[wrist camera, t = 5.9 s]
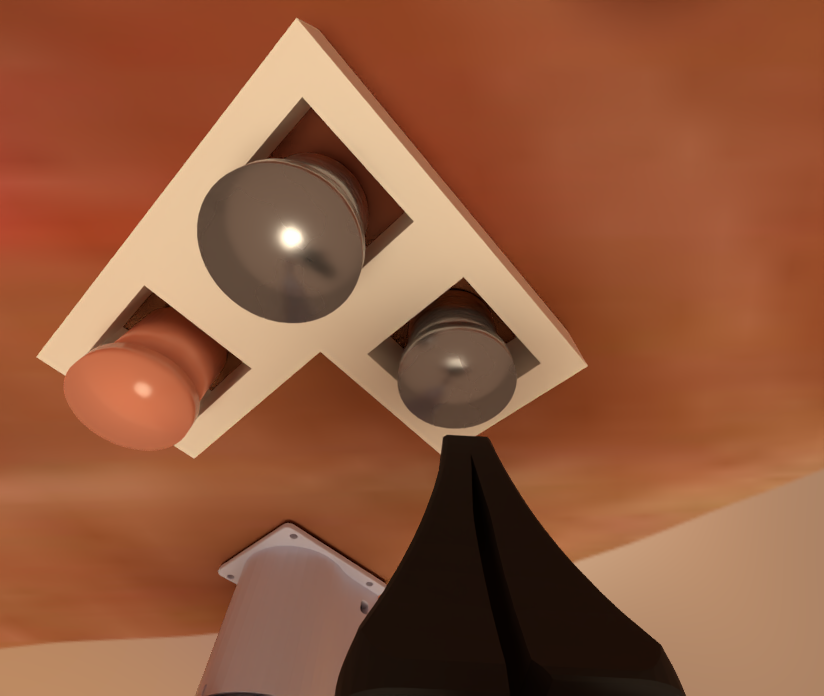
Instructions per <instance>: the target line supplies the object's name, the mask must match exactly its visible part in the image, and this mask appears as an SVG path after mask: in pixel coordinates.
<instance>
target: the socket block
mask: <svg viewBox="0 0 824 696" xmlns="http://www.w3.org/2000/svg"><path fill="white" fill-rule="evenodd" d="M311 107H312V108H313V110H314V111H315V112H316V113H317V114H318V115H319V116H320V117H321V118H322V120H323V121H324V122H325V123H326V124H327V125H328V126H329V127H330V129H331V130H332V131H333V132H334V133H335V134H336V135H337V136H338V137H339V139H340V140H341V141H342V142H343V143H344V144H345V145H346V146H347V147H348V149H349V150H350V151H351V152H352V153H353V154H354V155H355V156H356V158H357V159H358V160H359V161H360V162H361V163H362V164H363V165H364V166H365V168H366V169H367V170H368V171H369V172H370V173H371V174H372V175H373V176H374V178H375V179H376V180H377V181H378V182H379V183H380V184H381V185H382V187H383V188H384V189H385V190H386V191H387V192H388V193H389V194H390V195H391V197H392V198H393V199H394V200H395V201H396V202H397V203H398V204H399V206H400V207H401V208H402V209H403V210H404V211H405V212H404V213H403V214H402V215H401V216H400V217H399V218H398V219H397V220H396V221H395V222H394V223H393V224H391V225H390V226H389V227H388V228H387V229H386V230H385V231H384V232H383V233H382V234H381V235H380V236H378V237H377V238H376V239H375V240H374V241H373V242H372V243H371V244H370V245H369V246H368V247H367V248H365V258H364V263H363V267H362V270H361V273H360V276H359V278H358V281H357V284H356V286H355V288H354V290H353V292H352V293H351V295H350V296H349V297H348V299H347V300H346V301H345V302H344V303H343V304H342V305H341V306H340V307H339V308H337V309H336V310H335V311H334V312H332V313H330V314H328V315H327V316H325V317H322V318H320V319H317V320H314V321H310V322H304V323H282V322H276V321H271V320H267V319H265V318H262V317H259V316H257V315H255V314H252V313H250V312H248V311H247V310H245V309H243V308H242V307H240V306H239V305H237V304H236V303H235V302H233V301H232V300H231V299H230V298H229V297H228V296H227V295H226V294H224V292H223V291H222V290H221V289H220V288H219V287H218V286H217V284H216V283H215V282H214V280H213V279H212V277H211V276H210V274H209V272H208V270H207V269H206V267H205V264H204V262H203V259H202V257H201V253H200V250H199V246H198V239H197V222H198V215H199V211H200V208H201V205H202V203H203V201H204V198H205V196H206V195H207V193H208V192H209V190H210V189H211V187H212V186H213V185H214V184H215V183H216V182H217V181H218V180H219V179H221V178H222V177H223V176H225V175H226V174H227V173H229V172H231V171H233V170H235V169H237V168H239V167H242V166H244V165H246V164H248V163H251V162H254V161H258V160H263V159H267V158H268V157H269V156H270V154H271V153H272V152H273V151H274V150H275V149H276V147H277V146H278V145H279V144H280V143H281V142H282V140H283V139H284V138H285V137H286V136H287V135H288V133H289V132H290V131H291V130H292V129H293V128H294V126H295V125H296V124H297V123H298V122H299V121H300V119H301V118H302V117H303V116H304V115H305V114H306V112H307V111H308V110H309V109H310V108H311ZM463 277H464V278H465V279H466V280H467V281H468V283H469V284H470V285H471V286H472V287H473V288H474V289H475V290H476V291H477V293H478V294H479V295H480V296H481V297H482V298H483V299H484V300H485V301H486V303H487V304H488V305H489V306H490V307H491V308H492V309H493V310H494V312H495V313H496V314H497V315H498V316H499V317H500V318H501V319H502V320H503V322H504V323H505V324H506V325H507V326H508V327H509V328H510V329H511V330H512V332H513V333H514V334H515V335H516V336H517V337H515V338H514V339H513V340H511V341H510V342H508V343H507V344H506V345H507V347H508V348H509V350H510V353H511V356H512V359H513V362H514V365H515V368H516V373H517V383H516V388H515V392H514V394H513V397H512V399H511V400H510V402H509V403H508V405H507V406H506V407H505V408H504V409H503V410H502V411H501V412H500V413H499V414H498V415H496V416H495V417H494V418H492V419H490V420H488V421H487V422H484V423H482V424H480V425H476V426H473V427H468V428H460V429H450V428H442V427H437V426H434V425H431V424H429V423H426V422H424V421H422V420H421V419H419V418H417V417H416V416H415V415H414V414H412V413H411V412H410V411H409V410H408V408H407V407H406V406H405V404H404V403H403V401H402V399H401V397H400V394H399V391H398V382H397V380H398V369H399V362H400V358H401V355H402V353H403V351H404V349H403V348H402V347H401V346H400V345H399V344H398V343H397V342H396V341H395V340H394V339H392V338H391V337H390V335H392V334H393V333H394V332H395V331H397V330H398V329H399V328H400V327H402V326H403V325H404V324H405V323H407V322H408V321H409V320H410V319H412V318H413V317H414V316H415V315H417V314H418V313H419V312H420V311H422V310H423V309H424V308H425V307H427V306H428V305H429V304H430V303H432V302H433V301H434V300H435V299H437V298H438V297H439V296H440V295H442V294H443V293H444V292H445V291H447V290H448V289H449V288H450V287H452V286H453V285H454V284H455V283H457V282H458V281H459V280H460V279H462V278H463ZM152 292H154V293H155V294H156V295H157V296H159V297H160V298H161V299H163V300H164V301H165V302H166V303H168V304H169V305H170V306H172V307H173V308H174V309H175V310H177V311H178V312H179V313H181V314H182V315H183V316H185V317H186V318H187V319H188V320H190V321H191V322H192V323H194V324H195V325H196V326H197V327H199V328H200V329H201V330H203V331H204V332H205V333H206V334H208V335H209V336H210V337H212V338H213V339H214V340H215V341H217V342H218V343H219V344H221V345H222V346H223V347H224V348H226V349H227V350H228V351H230V352H231V353H232V354H233V355H235V356H236V357H237V358H239V359H240V360H241V361H243V362H242V363H241V364H240V365H239V366H238V367H237V368H236V369H235V370H234V371H233V372H231V373H230V374H229V375H228V376H227V377H226V378H225V379H224V380H223V381H222V382H221V383H220V384H219V385H217V386H216V387H215V388H214V389H213V390H212V391H211V390H210V389H208V391H207V392H206V393H205V395H204V396H203V398H202V399H201V400H200V409H199V414H198V417H197V419H196V421H195V422H194V424H193V425H192V427H191V428H190V430H189V431H188V432H187V434H186V435H185V437H184V438H183V439H182V440H181V441H180V442H178V443H177V444H175V445H174V446H175V447H177V448H178V449H180V450H181V451H183V452H185V453H186V454H188V455H189V456H191V457H192V458H195V457H197V456H198V455H199V454H200V453H201V452H203V451H204V450H205V449H206V448H207V447H208V446H210V445H211V444H212V443H213V442H214V441H215V440H217V439H218V438H219V437H220V436H221V435H223V434H224V433H225V432H226V431H227V430H228V429H230V428H231V427H232V426H233V425H234V424H235V423H237V422H238V421H239V420H240V419H241V418H243V417H244V416H245V415H246V414H247V413H248V412H250V411H251V410H252V409H253V408H254V407H256V406H257V405H258V404H259V403H260V402H261V401H263V400H264V399H265V398H266V397H267V396H268V395H270V394H271V393H272V392H273V391H274V390H276V389H277V388H278V387H279V386H280V385H281V384H283V383H284V382H285V381H286V380H287V379H288V378H290V377H291V376H292V375H293V374H294V373H296V372H297V371H298V370H299V369H300V368H301V367H303V366H304V365H305V364H306V363H307V362H309V361H310V360H311V359H312V358H313V357H314V356H316V355H317V354H318V353H319V352H321V353H322V354H324V355H325V356H326V357H327V358H328V359H329V360H331V361H332V362H333V363H334V364H335V365H336V366H338V367H339V368H340V369H341V370H342V371H344V372H345V373H346V374H347V375H348V376H349V377H351V378H352V379H353V380H354V381H355V382H356V383H358V384H359V385H360V386H361V387H362V388H363V389H365V390H366V391H367V392H368V393H369V394H370V395H372V396H373V397H374V398H375V399H376V400H377V401H379V402H380V403H381V404H382V405H383V406H384V407H386V408H387V409H388V410H389V411H390V412H392V413H393V414H394V415H395V416H396V417H397V418H399V419H400V420H401V421H402V422H403V423H404V424H406V425H407V426H408V427H409V428H410V429H411V430H413V431H414V432H415V433H416V434H417V435H418V436H420V437H421V438H422V439H423V440H424V441H425V442H427V443H428V444H429V445H430V446H431V447H432V448H434V449H435V450H436V451H437V452H438V453H440V454H441V448H442V440H443V437H444V436H446V435H461V436H476V435H478V434H480V433H481V432H483V431H484V430H486V429H488V428H489V427H491V426H492V425H494V424H496V423H497V422H499V421H500V420H502V419H504V418H505V417H507V416H508V415H510V414H512V413H513V412H515V411H516V410H518V409H520V408H521V407H523V406H524V405H526V404H528V403H529V402H531V401H533V400H534V399H536V398H537V397H539V396H541V395H542V394H544V393H545V392H547V391H549V390H550V389H552V388H553V387H555V386H557V385H558V384H560V383H561V382H563V381H565V380H566V379H568V378H569V377H571V376H573V375H574V374H576V373H577V372H579V371H581V370H582V369H584V368H585V367H587V366H588V365H587V364H586V362H585V360H584V359H583V357H582V355H581V353H580V352H579V350H578V348H577V346H576V345H575V343H574V341H573V339H572V338H571V336H570V334H569V333H568V331H567V330H566V329H565V327H564V326H563V325H562V324H561V323H560V321H559V320H558V319H557V318H556V317H555V315H554V314H553V313H552V312H551V310H550V309H549V308H548V307H547V306H546V304H545V303H544V302H543V301H542V300H541V298H540V297H539V296H538V295H537V294H536V292H535V291H534V290H533V289H532V287H531V286H530V285H529V284H528V283H527V281H526V280H525V279H524V278H523V277H522V275H521V274H520V273H519V272H518V270H517V269H516V268H515V267H514V266H513V264H512V263H511V262H510V261H509V260H508V258H507V257H506V256H505V255H504V254H503V252H502V251H501V250H500V249H499V247H498V246H497V245H496V244H495V243H494V241H493V240H492V239H491V238H490V237H489V235H488V234H487V233H486V232H485V231H484V229H483V228H482V227H481V226H480V224H479V223H478V222H477V221H476V220H475V218H474V217H473V216H472V215H471V214H470V212H469V211H468V210H467V209H466V207H465V206H464V205H463V204H462V203H461V201H460V200H459V199H458V198H457V197H456V195H455V194H454V193H453V192H452V191H451V189H450V188H449V187H448V186H447V184H446V183H445V182H444V181H443V180H442V178H441V177H440V176H439V175H438V174H437V172H436V171H435V170H434V169H433V168H432V166H431V165H430V164H429V163H428V161H427V160H426V159H425V158H424V157H423V155H422V154H421V153H420V152H419V151H418V149H417V148H416V147H415V146H414V145H413V143H412V142H411V141H410V140H409V138H408V137H407V136H406V135H405V134H404V132H403V131H402V130H401V129H400V128H399V126H398V125H397V124H396V123H395V121H394V120H393V119H392V118H391V117H390V115H389V114H388V113H387V112H386V111H385V109H384V108H383V107H382V106H381V105H380V103H379V102H378V101H377V100H376V98H375V97H374V96H373V95H372V94H371V92H370V91H369V90H368V89H367V88H366V86H365V85H364V84H363V83H362V82H361V80H360V79H359V78H358V77H357V75H356V74H355V73H354V72H353V71H352V69H351V68H350V67H349V66H348V65H347V63H346V62H345V61H344V60H343V58H342V57H341V56H340V55H339V54H338V52H337V51H336V50H335V49H334V48H333V46H332V45H331V44H330V43H329V42H328V40H327V39H326V38H325V37H324V35H323V34H322V33H321V32H320V31H319V29H317V28H315V27H313V26H311V25H309V24H307V23H305V22H303V21H301V20H300V19H298V18H296V19H295V21H294V22H293V23H292V25H291V26H290V27H289V29H288V30H287V31H286V32H285V34H284V35H283V36H282V38H281V39H280V40H279V42H278V43H277V44H276V45H275V47H274V48H273V49H272V51H271V52H270V53H269V55H268V56H267V57H266V58H265V60H264V61H263V62H262V64H261V65H260V66H259V68H258V69H257V70H256V72H255V73H254V74H253V75H252V77H251V78H250V79H249V81H248V82H247V83H246V85H245V86H244V87H243V88H242V90H241V91H240V92H239V94H238V95H237V96H236V98H235V99H234V100H233V101H232V103H231V104H230V105H229V107H228V108H227V109H226V111H225V112H224V113H223V114H222V116H221V117H220V118H219V120H218V121H217V122H216V124H215V125H214V126H213V128H212V129H211V130H210V131H209V133H208V134H207V135H206V137H205V138H204V139H203V141H202V142H201V143H200V144H199V146H198V147H197V148H196V150H195V151H194V152H193V154H192V155H191V156H190V157H189V159H188V160H187V161H186V163H185V164H184V165H183V167H182V168H181V169H180V171H179V172H178V173H177V174H176V176H175V177H174V178H173V180H172V181H171V182H170V184H169V185H168V186H167V187H166V189H165V190H164V191H163V193H162V194H161V195H160V197H159V198H158V199H157V200H156V202H155V203H154V204H153V206H152V207H151V208H150V210H149V211H148V212H147V213H146V215H145V216H144V217H143V219H142V220H141V221H140V223H139V224H138V225H137V227H136V228H135V229H134V230H133V232H132V233H131V234H130V236H129V237H128V238H127V240H126V241H125V242H124V243H123V245H122V246H121V247H120V249H119V250H118V251H117V253H116V254H115V255H114V256H113V258H112V259H111V260H110V262H109V263H108V264H107V266H106V267H105V268H104V270H103V271H102V272H101V273H100V275H99V276H98V277H97V279H96V280H95V281H94V283H93V284H92V285H91V286H90V288H89V289H88V290H87V292H86V293H85V294H84V296H83V297H82V298H81V299H80V301H79V302H78V303H77V305H76V306H75V307H74V309H73V310H72V311H71V312H70V314H69V315H68V316H67V318H66V319H65V320H64V322H63V323H62V324H61V326H60V327H59V328H58V329H57V331H56V332H55V333H54V335H53V336H52V337H51V339H50V340H49V341H48V342H47V344H46V345H45V346H44V348H43V349H42V350H41V352H40V353H39V354H38V355H37V358H39V359H40V360H42V361H43V362H45V363H46V364H48V365H49V366H51V367H53V368H54V369H56V370H57V371H59V372H60V373H62V374H63V375H65V376H66V373H67V371H68V370H69V368H70V367H71V366H72V365H73V364H74V363H75V362H77V361H78V360H79V359H80V358H82V357H83V356H84V355H85V354H87V353H88V352H89V351H91V350H92V349H94V348H96V347H98V346H100V345H104V344H108V343H114V342H115V341H116V340H117V339H119V338H120V337H121V336H122V335H124V334H125V333H126V332H127V331H128V330H127V329H125V328H124V327H123V326H124V325H125V324H126V322H127V321H128V320H129V319H130V318H131V317H132V315H133V314H134V313H135V312H136V311H137V310H138V308H139V307H140V306H141V305H142V304H143V303H144V301H145V300H146V299H147V298H148V297H149V296H150V294H151V293H152Z"/></svg>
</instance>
